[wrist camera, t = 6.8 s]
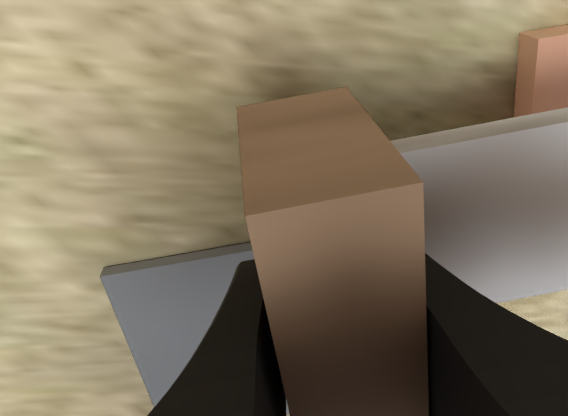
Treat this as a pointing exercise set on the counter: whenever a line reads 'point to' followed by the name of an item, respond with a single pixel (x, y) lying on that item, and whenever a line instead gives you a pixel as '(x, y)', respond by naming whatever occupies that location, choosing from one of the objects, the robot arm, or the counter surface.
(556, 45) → the tile
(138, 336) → the tool rest
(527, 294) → the brown grey l-shaped piece
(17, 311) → the counter surface
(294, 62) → the counter surface
